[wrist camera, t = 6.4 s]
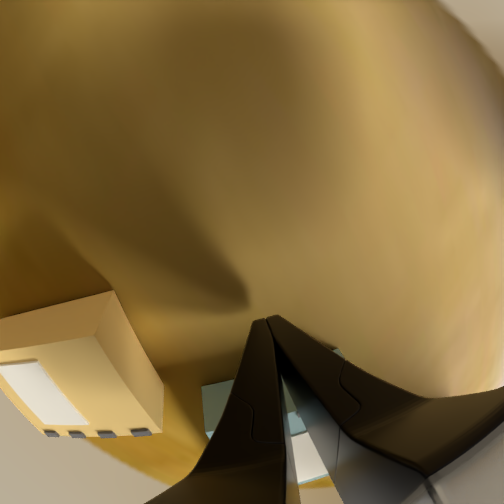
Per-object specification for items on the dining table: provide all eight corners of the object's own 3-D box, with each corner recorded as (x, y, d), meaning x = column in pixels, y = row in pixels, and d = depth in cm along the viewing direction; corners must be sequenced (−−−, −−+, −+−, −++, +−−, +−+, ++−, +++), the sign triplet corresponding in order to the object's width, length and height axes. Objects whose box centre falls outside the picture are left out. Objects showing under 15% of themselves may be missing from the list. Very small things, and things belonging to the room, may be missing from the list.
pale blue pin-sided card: (338, 348, 12) (363, 389, 9) (336, 439, 15) (349, 469, 13) (201, 386, 11) (205, 434, 9) (246, 465, 15) (253, 497, 12)
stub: (114, 290, 9) (93, 338, 6) (164, 385, 11) (162, 434, 8) (1, 318, 8) (-27, 356, 6) (56, 397, 10) (42, 436, 8)
